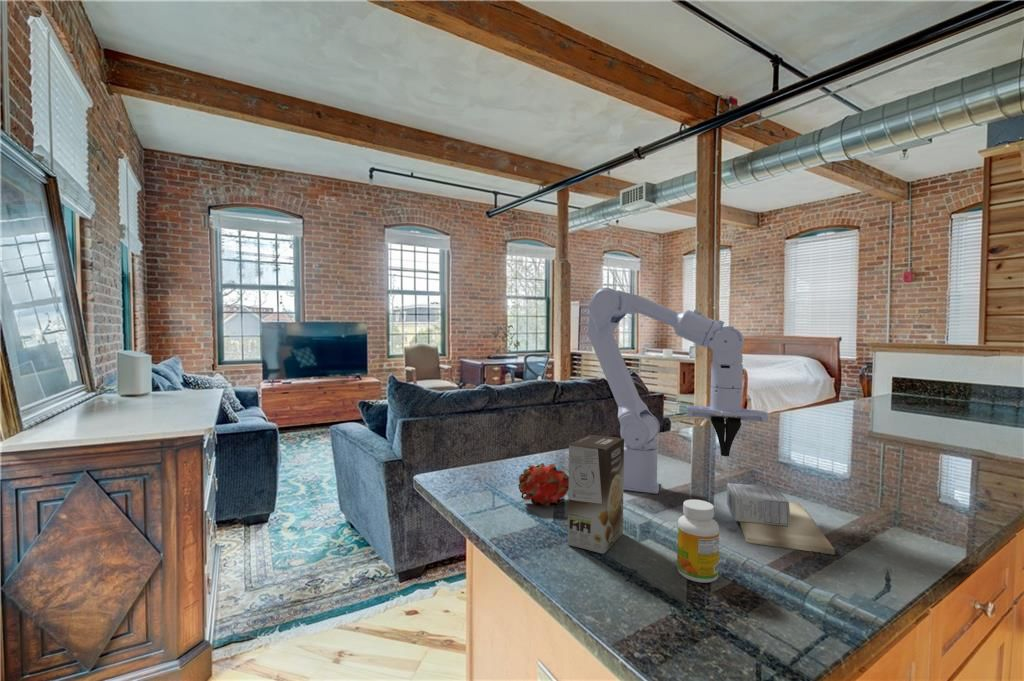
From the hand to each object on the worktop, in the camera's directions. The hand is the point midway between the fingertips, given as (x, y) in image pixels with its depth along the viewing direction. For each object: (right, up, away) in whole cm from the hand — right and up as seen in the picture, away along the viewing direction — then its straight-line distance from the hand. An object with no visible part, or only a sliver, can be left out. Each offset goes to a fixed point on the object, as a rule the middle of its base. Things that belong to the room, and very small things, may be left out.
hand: (724, 455), depth 92 cm
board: (+4, -10, -11) cm, 15 cm away
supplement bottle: (-17, -10, -28) cm, 34 cm away
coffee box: (-29, -10, -17) cm, 35 cm away
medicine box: (-3, -6, -8) cm, 11 cm away
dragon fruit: (-36, -9, -1) cm, 37 cm away
